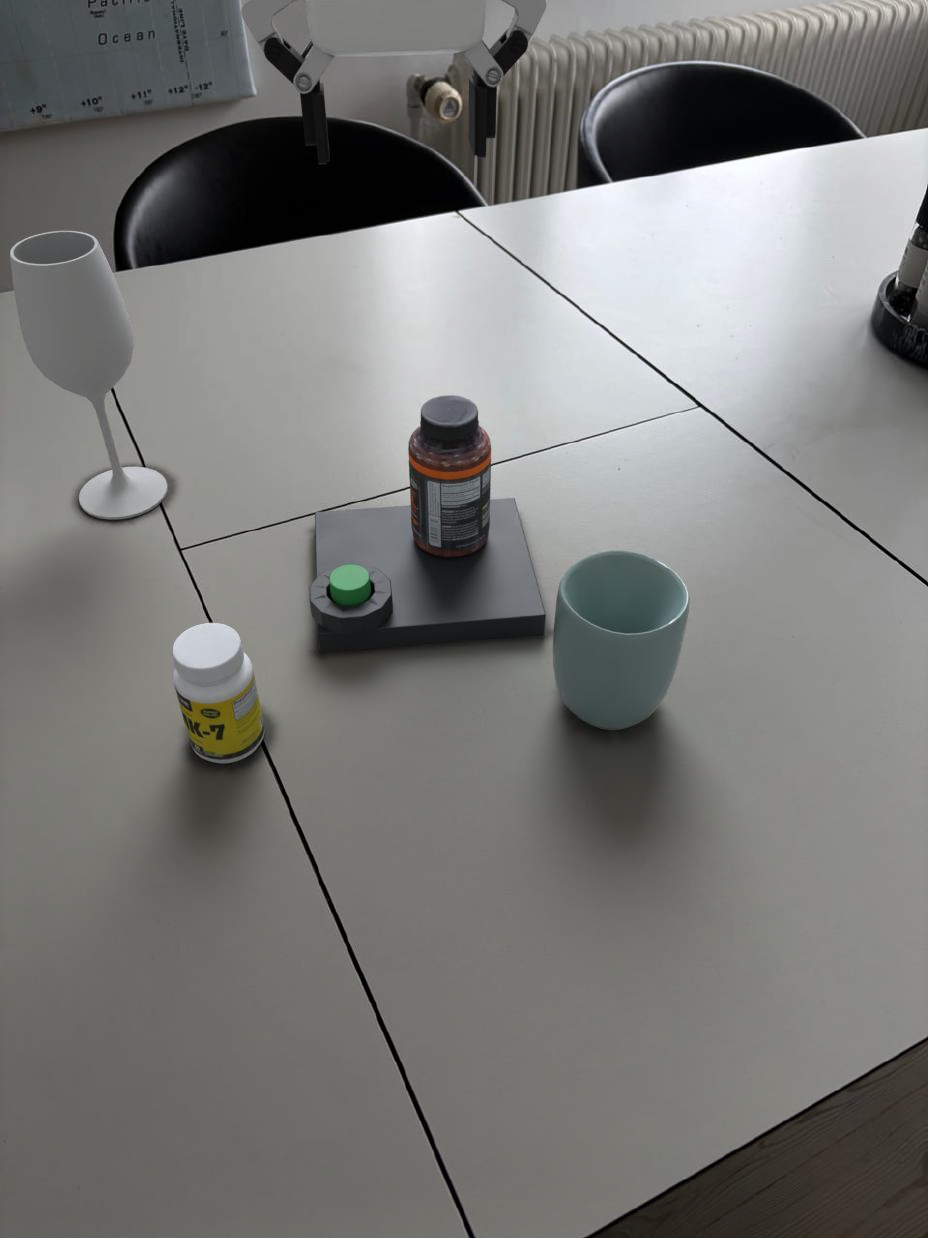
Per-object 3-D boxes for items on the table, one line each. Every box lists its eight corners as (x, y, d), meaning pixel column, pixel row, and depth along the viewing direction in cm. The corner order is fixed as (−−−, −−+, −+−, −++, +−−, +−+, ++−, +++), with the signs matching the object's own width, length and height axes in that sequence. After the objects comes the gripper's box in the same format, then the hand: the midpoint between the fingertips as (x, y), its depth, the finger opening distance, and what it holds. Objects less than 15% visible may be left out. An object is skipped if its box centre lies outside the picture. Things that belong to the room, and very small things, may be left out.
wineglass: (61, 491, 84) (-22, 245, 70) (143, 457, 88) (80, 217, 74) (103, 533, 80) (24, 281, 66) (187, 495, 84) (130, 249, 70)
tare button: (331, 608, 69) (329, 591, 68) (330, 582, 71) (328, 565, 70) (372, 605, 70) (370, 588, 68) (369, 579, 72) (368, 562, 70)
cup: (525, 697, 67) (532, 585, 61) (606, 645, 71) (621, 533, 64) (609, 767, 63) (627, 655, 56) (690, 708, 67) (716, 596, 60)
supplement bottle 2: (410, 514, 79) (405, 387, 71) (485, 511, 79) (488, 384, 72) (413, 563, 75) (407, 433, 67) (492, 560, 75) (496, 429, 67)
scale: (315, 657, 70) (309, 620, 68) (312, 531, 81) (308, 495, 78) (545, 637, 72) (548, 601, 69) (513, 516, 82) (515, 480, 80)
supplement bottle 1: (175, 748, 64) (147, 655, 58) (221, 700, 67) (199, 607, 61) (235, 777, 63) (212, 684, 57) (280, 726, 66) (263, 633, 60)
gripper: (541, -207, 55) (527, 129, 66) (218, -204, 53) (262, 139, 65) (568, -194, 49) (548, 169, 61) (209, -191, 48) (259, 181, 59)
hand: (400, 153), depth 63 cm, fingers open, 9 cm apart
